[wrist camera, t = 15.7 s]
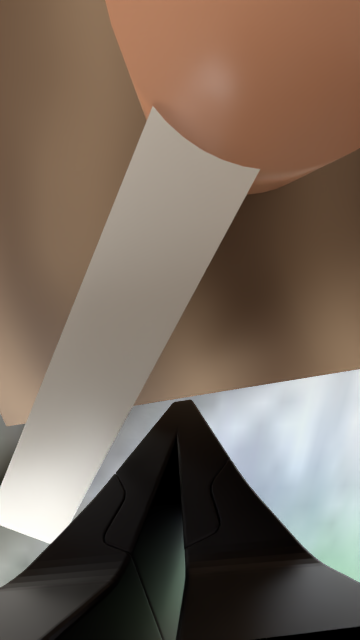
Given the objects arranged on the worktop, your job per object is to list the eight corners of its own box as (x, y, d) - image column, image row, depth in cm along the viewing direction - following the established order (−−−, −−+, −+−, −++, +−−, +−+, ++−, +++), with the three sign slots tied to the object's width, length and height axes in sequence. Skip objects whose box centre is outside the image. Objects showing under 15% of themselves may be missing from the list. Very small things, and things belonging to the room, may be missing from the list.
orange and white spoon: (205, -164, 5) (224, -601, 3) (425, -3, 6) (636, -213, 3) (-4, 420, 10) (-81, 495, 7) (136, 477, 11) (117, 568, 8)
